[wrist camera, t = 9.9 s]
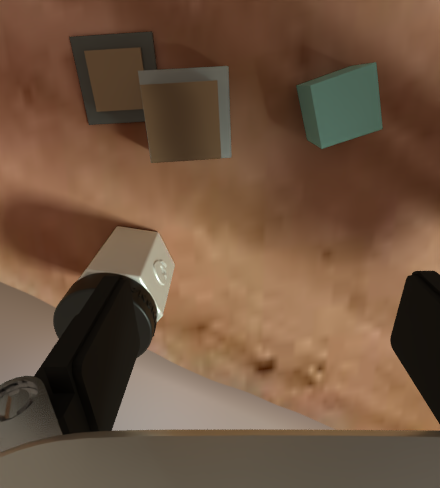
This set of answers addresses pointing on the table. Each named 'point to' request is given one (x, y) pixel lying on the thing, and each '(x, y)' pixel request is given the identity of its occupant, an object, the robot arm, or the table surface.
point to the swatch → (113, 74)
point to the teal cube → (341, 105)
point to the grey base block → (193, 76)
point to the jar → (130, 267)
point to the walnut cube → (182, 120)
